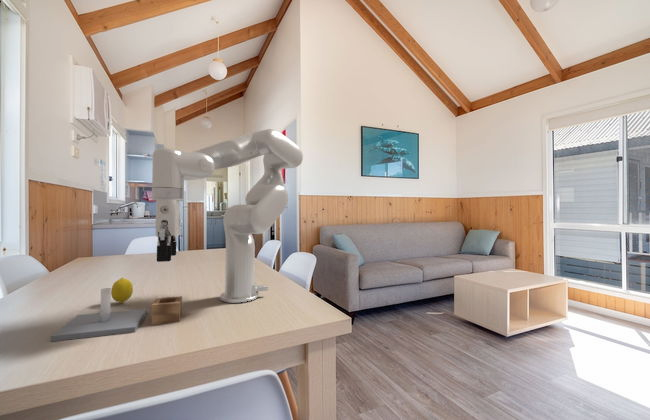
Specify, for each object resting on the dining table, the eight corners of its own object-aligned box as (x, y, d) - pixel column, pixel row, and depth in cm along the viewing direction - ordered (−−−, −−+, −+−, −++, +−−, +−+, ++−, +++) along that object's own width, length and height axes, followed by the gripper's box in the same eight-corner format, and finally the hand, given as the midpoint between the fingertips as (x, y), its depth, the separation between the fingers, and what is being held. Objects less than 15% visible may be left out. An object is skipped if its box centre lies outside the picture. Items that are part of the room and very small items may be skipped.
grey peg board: (147, 312, 83) (147, 280, 83) (135, 331, 70) (135, 293, 70) (77, 319, 78) (78, 284, 78) (50, 341, 64) (51, 299, 65)
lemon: (121, 306, 88) (122, 280, 88) (106, 305, 89) (106, 279, 89) (136, 301, 93) (137, 276, 93) (122, 300, 94) (122, 275, 95)
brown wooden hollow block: (181, 313, 83) (181, 296, 83) (179, 321, 77) (179, 302, 77) (155, 316, 81) (156, 298, 81) (151, 324, 75) (151, 305, 75)
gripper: (179, 194, 72) (178, 263, 72) (186, 197, 89) (185, 253, 89) (144, 193, 70) (143, 264, 70) (158, 196, 86) (157, 254, 86)
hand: (167, 258), depth 79 cm, fingers open, 9 cm apart
